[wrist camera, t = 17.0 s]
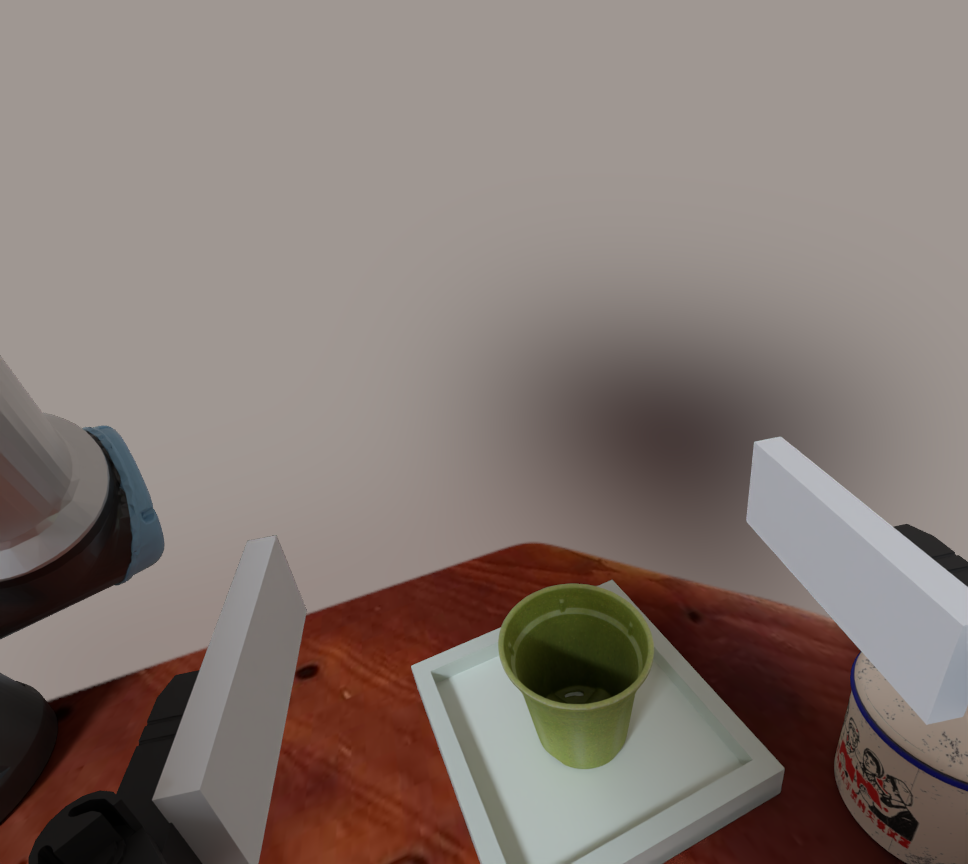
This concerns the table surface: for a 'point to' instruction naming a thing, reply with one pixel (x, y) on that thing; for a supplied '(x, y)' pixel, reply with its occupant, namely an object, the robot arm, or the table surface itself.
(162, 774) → the robot arm
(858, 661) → the teacup with lid
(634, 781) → the tray
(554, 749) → the plant pot
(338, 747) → the table surface
